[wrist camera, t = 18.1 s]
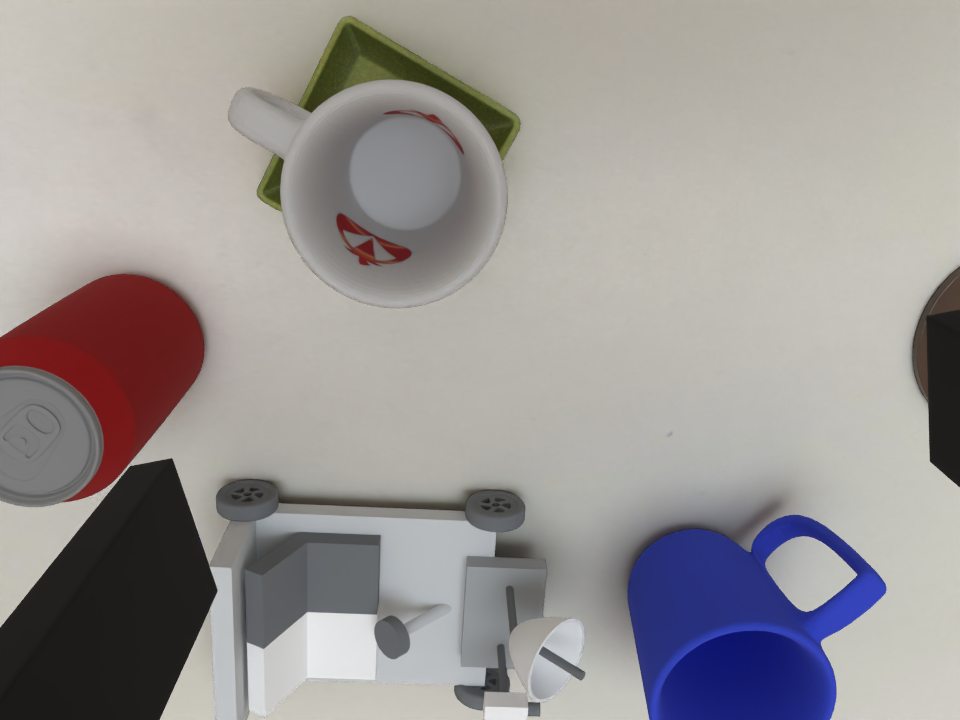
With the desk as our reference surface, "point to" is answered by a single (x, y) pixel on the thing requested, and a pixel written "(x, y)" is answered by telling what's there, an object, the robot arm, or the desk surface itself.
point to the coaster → (949, 297)
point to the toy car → (381, 603)
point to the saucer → (376, 57)
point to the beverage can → (91, 386)
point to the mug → (737, 627)
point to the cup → (383, 187)
